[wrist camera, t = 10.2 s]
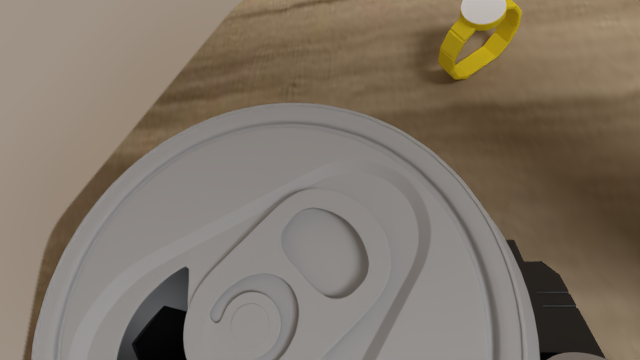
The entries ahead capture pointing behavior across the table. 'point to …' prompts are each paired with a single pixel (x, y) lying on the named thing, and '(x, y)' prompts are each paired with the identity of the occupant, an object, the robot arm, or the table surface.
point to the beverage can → (290, 250)
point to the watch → (479, 14)
